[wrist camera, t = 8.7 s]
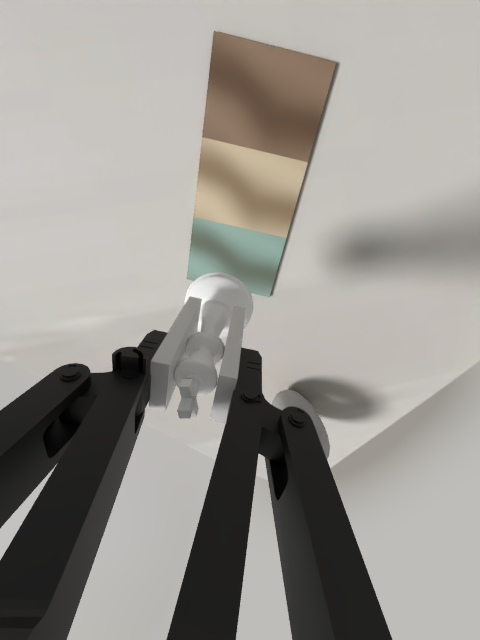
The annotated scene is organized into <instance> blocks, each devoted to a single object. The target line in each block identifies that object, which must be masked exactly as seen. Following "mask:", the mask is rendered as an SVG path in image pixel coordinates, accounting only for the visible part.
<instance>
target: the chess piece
mask: <svg viewBox="0 0 480 640" xmlns="http://www.w3.org/2000/svg"><path fill="white" fill-rule="evenodd" d="M190 296H191V297H196V298H200V299H202V301H201V308H200V315H199V322H198V328H197V330H199V331H200V332H197V333H194V334H193V335H191V336H190V337H189V338H188V340H187V344H186V353H187V356H188V358H186V359H185V360H183V361H182V362H181V363H180V364H179V365H178V366H177V368H176V369H175V372H174V380H175V383H176V385H177V386H178V387H179V390H180V394H181V398H182V399H181V402H180V404H179V407H178V410H177V411H178V415H179V418H190V417H196V416H197V412H198V405H197V400H196V397H197V396H201V395H206V394H208V393H210V392H211V391H213V390H214V388H215V387H216V385H217V380H218V378H217V372H216V369H215V366H214V365H215V364H217V363H218V362H219V361H220V360H221V359H222V358H223V355H224V350H225V346H224V344H223V342H222V340H221V339H220V338H223V337H227V336H228V331H229V326H230V322H231V317H232V312H233V308H234V306H238V307H242V308H246V311H245V319H244V328H245V327H246V325H247V324H248V322H249V320H250V318H251V315H252V312H253V299H252V296H251V293H250V291H249V289H248V288H247V287H246V285H245V284H244V283H243V282H242V281H240V280H239V279H238V278H236V277H234V276H232V275H229V274H226V273H220V272H214V273H208V274H205V275H202V276H200V277H199V278H197V279H196V280H195V281H194V282H193V283H192V284H191V285H190V287H189V288H188V291H187V293H186V297H185V303H186V302H187V300H188V298H189V297H190ZM244 328H243V329H244Z"/></svg>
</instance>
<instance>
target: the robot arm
mask: <svg viewBox="0 0 480 640" xmlns="http://www.w3.org/2000/svg"><path fill="white" fill-rule="evenodd" d="M201 301H202V299H200V298H196V297H191V296H190V297H189V298H188V300H187V302H186V303H185V305H184V307H183V308H182V310H181V312H180V313H179V315H178V317H177V318H176V320H175V322H174V323H173V325H172V327H171V328H170V330H169V332H168V333H166V332H161V331H157V330H154V331H152V332H150V333H148V334H147V335H146V336H145V338H144V339H143V341H142V342H141V343H140V344H139V346H138V347H137V348H136V347H124V348H121V349H118V350H116V351H115V352H114V353H113V354H112V364H113V371H112V372H105V373H90V369H89V368H88V367H87V366H85V365H83V364H77V363H75V364H67V365H64V366H61V367H59V368H57V369H56V370H54V371H53V372H52V373H50V374H49V375H47V376H46V377H45V378H43V379H42V380H41V381H40V382H38V383H37V384H35V385H34V386H33V387H31V388H30V389H29V390H27V391H26V392H25V393H23V394H22V395H21V396H19V397H18V398H17V399H15V400H14V401H13V402H11V403H10V404H9V405H7V406H6V407H5V408H3V409H2V410H1V411H0V528H1V527H2V526H3V524H4V523H5V522H6V521H7V520H8V519H9V518H10V517H11V515H12V514H13V513H14V512H15V511H16V510H17V509H18V507H19V506H20V505H21V504H22V503H23V502H24V501H25V500H26V498H27V497H28V496H29V495H30V494H31V493H32V492H33V490H34V489H35V488H36V487H37V486H38V485H39V484H40V482H41V481H42V480H43V479H44V478H45V477H46V476H47V475H48V473H49V472H50V471H51V470H52V469H53V468H54V467H55V465H56V464H57V463H58V464H57V466H56V467H55V469H54V471H53V472H52V474H51V476H50V477H49V479H48V481H47V482H46V484H45V486H44V488H43V490H42V491H41V493H40V495H39V496H38V498H37V499H36V501H35V503H34V505H33V506H32V508H31V510H30V511H29V513H28V515H27V516H26V518H25V520H24V521H23V523H22V525H21V526H20V528H19V530H18V532H17V533H16V535H15V537H14V538H13V540H12V542H11V543H10V545H9V547H8V549H7V550H6V552H5V554H4V555H3V557H2V559H1V560H0V640H67V636H68V634H69V631H70V628H71V625H72V622H73V619H74V617H75V614H76V611H77V608H78V605H79V602H80V599H81V597H82V594H83V591H84V588H85V585H86V582H87V579H88V577H89V574H90V571H91V568H92V565H93V562H94V559H95V557H96V554H97V551H98V548H99V545H100V542H101V539H102V536H103V534H104V531H105V528H106V525H107V522H108V519H109V516H110V514H111V511H112V508H113V505H114V502H115V499H116V496H117V493H118V491H119V488H120V485H121V482H122V479H123V476H124V474H125V470H126V468H127V465H128V462H129V459H130V456H131V453H132V451H133V448H134V445H135V442H136V439H137V436H138V434H139V431H140V428H141V425H142V422H143V419H144V415H145V407H146V405H147V403H148V402H149V408H150V409H155V410H160V411H166V408H167V406H168V403H169V401H170V399H171V396H172V394H173V391H174V389H175V386H176V383H175V380H174V372H175V369H176V368H177V366H178V365H179V364H180V363H181V362H182V361H183V360H185V359H186V358H187V357H188V356H187V353H186V344H187V340H188V338H189V337H190V336H191V335H193V334H194V333H197V328H198V322H199V315H200V308H201ZM245 311H246V308H242V307H238V306H234V308H233V312H232V317H231V322H230V326H229V331H228V336H227V340H226V345H225V350H224V355H223V359H222V364H221V369H220V373H219V378H218V383H217V387H216V392H215V397H214V402H213V406H212V411H211V416H210V420H211V421H216V422H221V423H226V425H225V428H224V432H223V436H222V439H221V443H220V447H219V450H218V454H217V458H216V461H215V465H214V469H213V472H212V476H211V479H210V483H209V487H208V490H207V494H206V498H205V502H204V506H203V509H202V513H201V516H200V520H199V523H198V527H197V531H196V534H195V538H194V542H193V546H192V549H191V553H190V557H189V560H188V564H187V567H186V571H185V575H184V578H183V582H182V585H181V589H180V593H179V596H178V600H177V604H176V607H175V611H174V615H173V618H172V622H171V626H170V629H169V633H168V637H167V640H236V632H237V623H238V616H239V608H240V600H241V599H240V598H241V591H242V582H243V575H244V566H245V558H246V549H247V541H248V533H249V526H250V517H251V508H252V500H253V493H254V485H255V476H256V468H257V460H258V453H259V454H261V455H263V456H265V462H266V468H267V475H268V481H269V488H270V494H271V501H272V508H273V514H274V521H275V527H276V534H277V541H278V547H279V554H280V560H281V567H282V573H283V580H284V587H285V593H286V600H287V606H288V612H289V620H290V626H291V633H292V639H293V640H392V637H391V635H390V632H389V629H388V626H387V624H386V621H385V618H384V615H383V613H382V610H381V607H380V605H379V602H378V599H377V597H376V593H375V591H374V588H373V585H372V583H371V580H370V577H369V575H368V572H367V569H366V566H365V564H364V561H363V558H362V555H361V552H360V550H359V547H358V544H357V542H356V538H355V536H354V533H353V530H352V528H351V525H350V522H349V519H348V516H347V514H346V511H345V509H344V506H343V503H342V500H341V497H340V494H339V492H338V489H337V486H336V483H335V481H334V478H333V475H332V473H331V470H330V467H329V464H328V461H327V459H326V456H325V453H324V450H323V448H322V445H321V442H320V440H319V437H318V434H317V431H316V429H315V426H314V423H313V420H312V419H311V417H310V415H309V414H308V413H307V412H305V411H304V410H302V409H300V408H298V407H294V406H290V407H286V408H284V409H283V410H281V409H279V408H276V407H274V406H273V405H271V404H270V403H269V402H267V401H266V399H265V398H264V395H263V394H262V366H261V365H262V357H261V356H260V354H259V352H258V351H255V350H250V349H245V348H241V345H242V336H243V328H244V319H245Z"/></svg>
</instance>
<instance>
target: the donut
mask: <svg viewBox="0 0 480 640" xmlns="http://www.w3.org/2000/svg"><path fill="white" fill-rule="evenodd" d="M272 405H273V406H274V407H276V408H279V409H281V410H283V409H284V408H286V407H290V406H294V407H298V408H300V409H302V410H304V411H305V412H307V413H308V414H309V415H310V417H311V419H312V420H313V423H314V426H315V429H316V431H317V434H318V437H319V440H320V442H321V445H322V448H323V450H324V453H325V456H326V459H327V458H328V457H329V450H330V445H329V440H328V435H327V432H326V430H325V427H324V425H323V423H322V421H321V419H320V417H319V415H318V414H317V412H316V411H315V409H314V408H313V407H312V405H311V404H310V403H309V402H308V401H307V400H306V399H305V398H304V397H303V396H302V395H300V394H299V393H298V392H295V391H292V390H284V391H281V392H279V393H278V394H277V395H276V397H275V398H274V400H273V402H272Z"/></svg>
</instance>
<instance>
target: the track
mask: <svg viewBox="0 0 480 640" xmlns="http://www.w3.org/2000/svg"><path fill="white" fill-rule="evenodd" d="M335 66H336V62H334V61H330V60H326V59H322V58H318V57H314V56H310V55H306V54H302V53H298V52H294V51H290V50H286V49H282V48H278V47H275V46H271V45H267V44H263V43H259V42H255V41H251V40H247V39H243V38H239V37H235V36H231V35H227V34H223V33H219V32H216V31H214V35H213V44H212V53H211V62H210V72H209V81H208V90H207V99H206V108H205V117H204V126H203V136H202V145H201V154H200V163H199V172H198V181H197V191H196V200H195V209H194V218H193V227H192V236H191V245H190V255H189V264H188V273H187V279H189V280H193V281H195V280H196V279H197V278H199V277H200V276H202V275H205V274H208V273H214V272H220V273H226V274H229V275H232V276H234V277H236V278H238V279H239V280H240V281H242V282H243V283H244V284H245V285H246V287H247V288H248V289H249V291H250V293H253V294H258V295H262V296H267V297H270V294H271V290H272V287H273V283H274V280H275V276H276V273H277V269H278V266H279V262H280V259H281V255H282V252H283V248H284V245H285V241H286V238H287V234H288V231H289V227H290V224H291V220H292V217H293V213H294V210H295V206H296V203H297V199H298V195H299V192H300V188H301V185H302V181H303V178H304V174H305V171H306V167H307V164H308V160H309V157H310V153H311V150H312V146H313V143H314V139H315V136H316V132H317V129H318V125H319V122H320V118H321V115H322V111H323V108H324V104H325V101H326V97H327V94H328V90H329V87H330V83H331V80H332V76H333V73H334V69H335Z"/></svg>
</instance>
